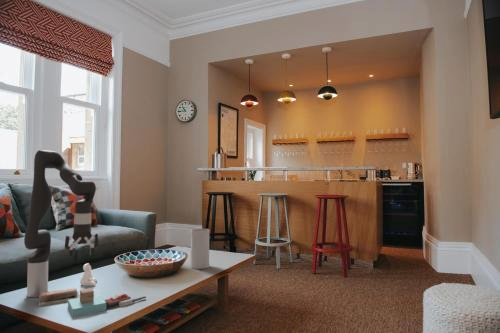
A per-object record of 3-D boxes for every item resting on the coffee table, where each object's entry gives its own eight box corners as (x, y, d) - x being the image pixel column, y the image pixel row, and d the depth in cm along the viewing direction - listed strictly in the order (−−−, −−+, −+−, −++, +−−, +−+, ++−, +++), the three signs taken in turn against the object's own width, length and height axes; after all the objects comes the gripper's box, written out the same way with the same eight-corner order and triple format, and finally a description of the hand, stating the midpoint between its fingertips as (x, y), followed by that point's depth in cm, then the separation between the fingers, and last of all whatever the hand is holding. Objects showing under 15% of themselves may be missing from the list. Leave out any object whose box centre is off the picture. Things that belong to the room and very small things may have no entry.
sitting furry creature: (95, 286, 196) (95, 264, 196) (78, 287, 193) (78, 266, 194) (97, 281, 205) (97, 260, 205) (81, 282, 202) (81, 261, 203)
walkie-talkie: (108, 311, 161) (147, 300, 176) (108, 302, 161) (147, 291, 176) (99, 306, 167) (137, 296, 182) (99, 297, 167) (138, 287, 182)
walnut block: (79, 300, 165) (80, 289, 165) (91, 298, 167) (91, 287, 168) (81, 303, 160) (82, 292, 161) (93, 301, 163) (93, 290, 163)
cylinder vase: (187, 266, 239) (187, 229, 240) (202, 263, 247) (203, 228, 248) (196, 270, 230) (197, 232, 230) (212, 267, 238) (212, 230, 238)
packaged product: (38, 297, 166) (39, 291, 175) (38, 307, 166) (38, 300, 175) (80, 290, 175) (79, 285, 184) (80, 300, 175) (78, 294, 184)
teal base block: (67, 308, 166) (68, 299, 166) (99, 302, 174) (99, 294, 174) (72, 318, 154) (72, 309, 154) (106, 311, 162) (106, 302, 162)
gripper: (96, 220, 175) (95, 253, 175) (64, 222, 166) (63, 256, 166) (100, 222, 169) (98, 256, 168) (67, 224, 160) (65, 260, 160)
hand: (81, 256), depth 167 cm, fingers open, 8 cm apart
